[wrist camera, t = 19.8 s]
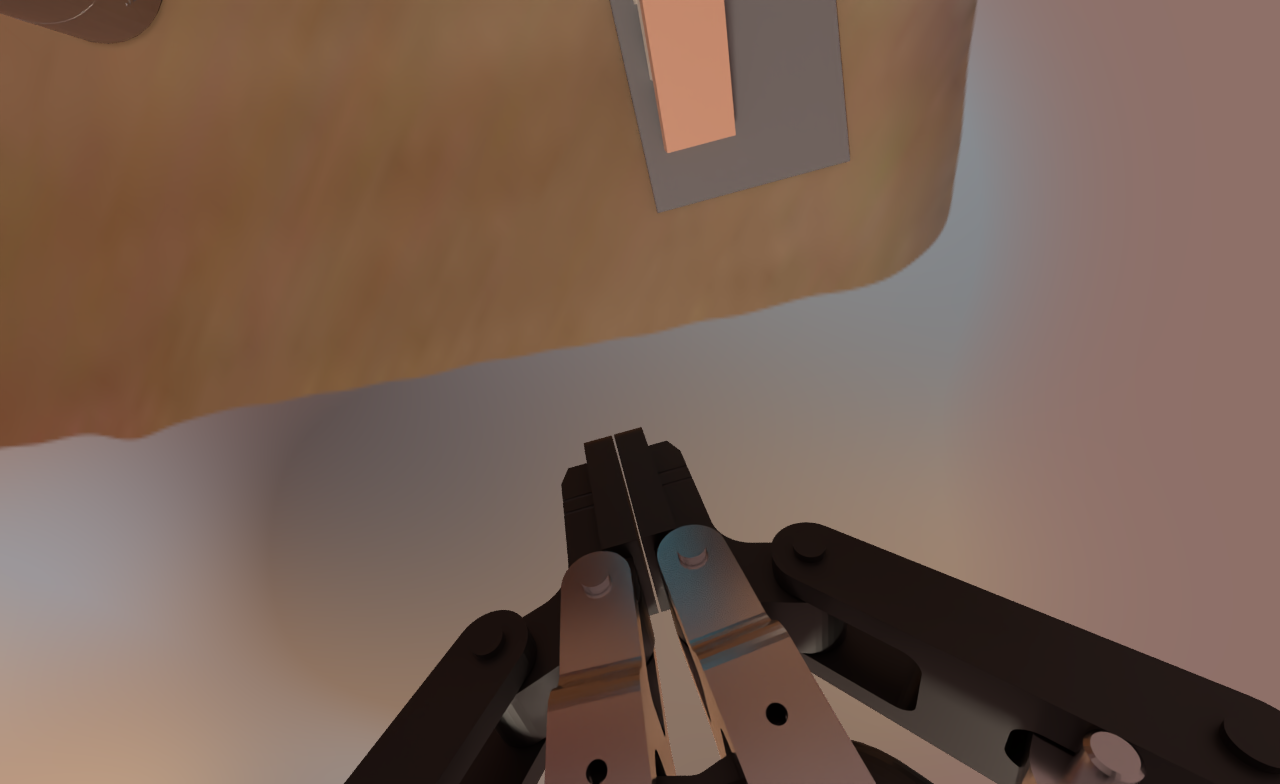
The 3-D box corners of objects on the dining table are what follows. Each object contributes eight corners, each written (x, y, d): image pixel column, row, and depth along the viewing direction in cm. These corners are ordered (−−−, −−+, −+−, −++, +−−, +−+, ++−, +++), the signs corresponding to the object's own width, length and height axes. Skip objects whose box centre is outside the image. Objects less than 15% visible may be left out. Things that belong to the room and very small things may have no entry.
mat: (847, 161, 39) (850, 160, 38) (657, 212, 39) (658, 212, 38) (810, -248, 30) (813, -254, 30) (568, -181, 30) (568, -186, 30)
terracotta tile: (735, 135, 36) (719, -47, 30) (667, 153, 36) (637, -26, 30) (730, 132, 37) (714, -45, 31) (664, 149, 37) (635, -24, 31)
